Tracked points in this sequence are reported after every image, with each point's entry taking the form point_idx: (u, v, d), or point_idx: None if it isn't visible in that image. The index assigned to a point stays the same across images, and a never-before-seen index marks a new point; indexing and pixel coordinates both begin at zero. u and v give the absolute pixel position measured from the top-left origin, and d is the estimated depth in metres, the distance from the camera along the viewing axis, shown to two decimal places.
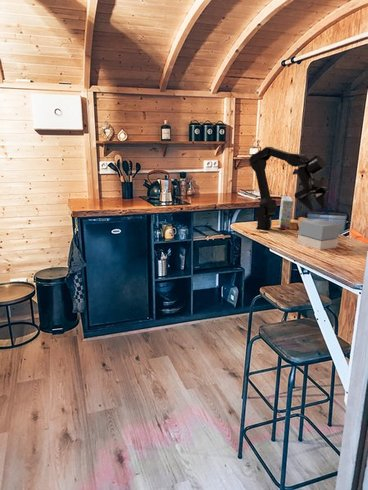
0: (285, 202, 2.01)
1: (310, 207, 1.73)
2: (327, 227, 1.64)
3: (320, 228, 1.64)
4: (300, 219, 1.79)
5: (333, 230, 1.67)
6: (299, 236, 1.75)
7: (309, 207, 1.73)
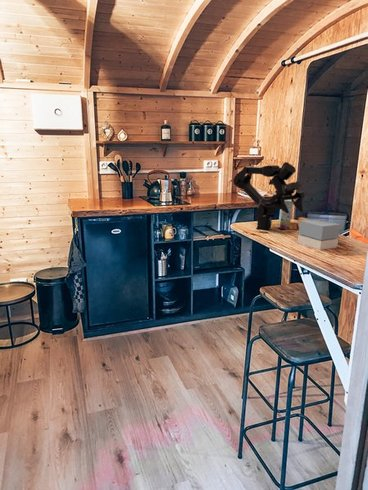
0: (285, 202, 2.01)
1: (285, 210, 1.81)
2: (327, 227, 1.64)
3: (320, 228, 1.64)
4: (300, 219, 1.79)
5: (333, 230, 1.67)
6: (299, 236, 1.75)
7: (284, 210, 1.81)
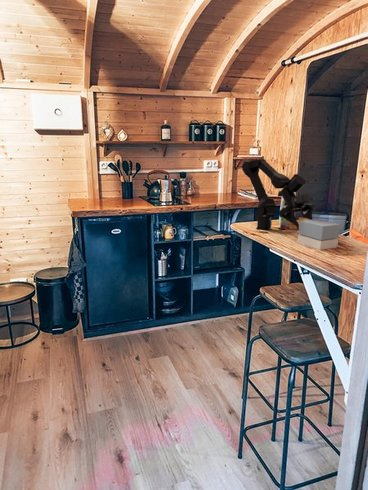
0: (285, 202, 2.01)
1: (295, 223, 1.76)
2: (327, 227, 1.64)
3: (320, 228, 1.64)
4: (300, 219, 1.79)
5: (333, 230, 1.67)
6: (299, 236, 1.75)
7: (294, 223, 1.76)
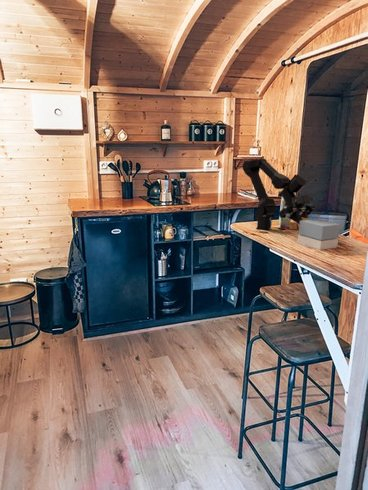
0: (285, 202, 2.01)
1: None
2: (327, 227, 1.64)
3: (320, 228, 1.64)
4: None
5: (333, 230, 1.67)
6: (299, 236, 1.75)
7: None
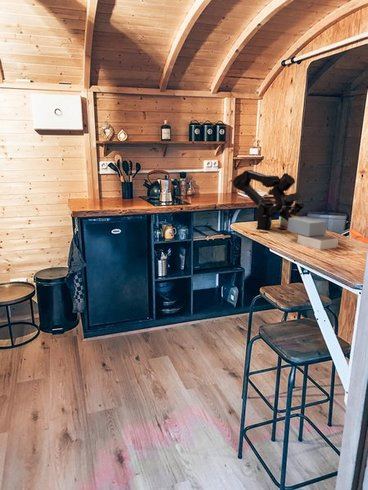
0: None
1: None
2: (314, 223, 1.70)
3: (307, 225, 1.70)
4: None
5: (320, 226, 1.72)
6: (299, 236, 1.75)
7: None
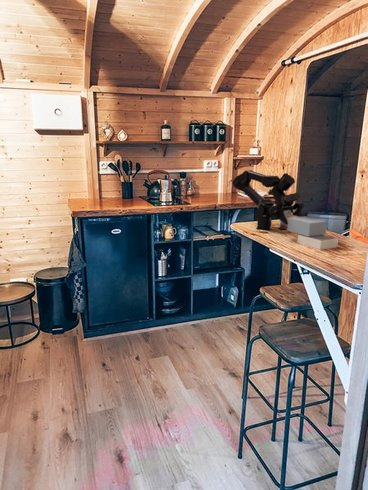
0: None
1: (285, 221, 1.82)
2: (314, 223, 1.70)
3: (307, 225, 1.70)
4: (289, 216, 1.85)
5: (320, 226, 1.72)
6: (299, 236, 1.75)
7: (284, 221, 1.82)
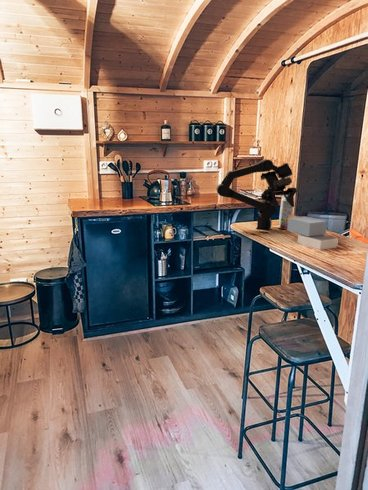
0: (285, 202, 2.01)
1: (276, 205, 1.87)
2: (314, 223, 1.70)
3: (307, 225, 1.70)
4: (289, 216, 1.85)
5: (320, 226, 1.72)
6: (299, 236, 1.75)
7: (275, 205, 1.87)
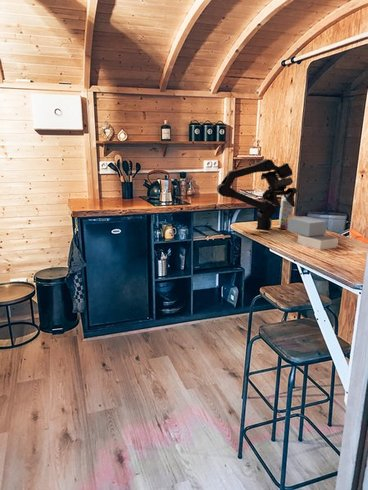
0: (285, 202, 2.01)
1: (278, 205, 1.87)
2: (314, 223, 1.70)
3: (307, 225, 1.70)
4: (289, 216, 1.85)
5: (320, 226, 1.72)
6: (299, 236, 1.75)
7: (277, 205, 1.87)
